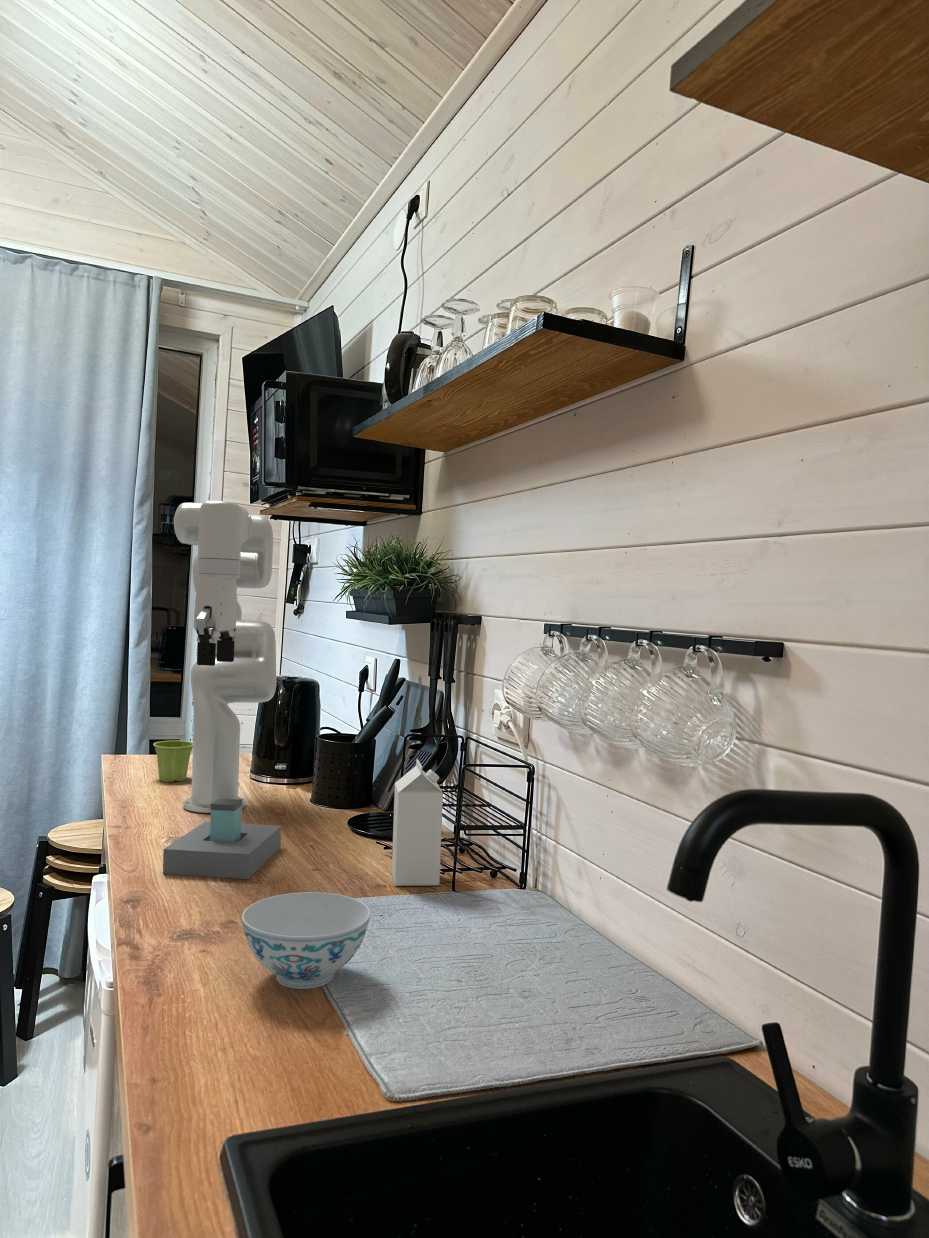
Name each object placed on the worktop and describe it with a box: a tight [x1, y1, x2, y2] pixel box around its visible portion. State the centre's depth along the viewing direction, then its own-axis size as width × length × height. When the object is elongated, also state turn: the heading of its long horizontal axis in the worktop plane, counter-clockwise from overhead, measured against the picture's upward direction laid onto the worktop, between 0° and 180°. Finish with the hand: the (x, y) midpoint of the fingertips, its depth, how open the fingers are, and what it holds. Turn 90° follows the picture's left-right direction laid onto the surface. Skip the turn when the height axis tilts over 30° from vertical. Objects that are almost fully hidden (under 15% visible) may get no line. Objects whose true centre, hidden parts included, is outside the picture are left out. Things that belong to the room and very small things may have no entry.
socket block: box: [162, 821, 282, 880], centre depth 151 cm, size 18×14×4 cm
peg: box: [209, 799, 243, 843], centre depth 151 cm, size 4×4×10 cm
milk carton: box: [391, 758, 444, 887], centre depth 144 cm, size 7×7×19 cm
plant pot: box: [153, 740, 193, 783], centre depth 214 cm, size 9×9×9 cm
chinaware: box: [241, 891, 371, 990], centre depth 106 cm, size 15×15×8 cm
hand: (215, 663), depth 163 cm, fingers open, 9 cm apart
